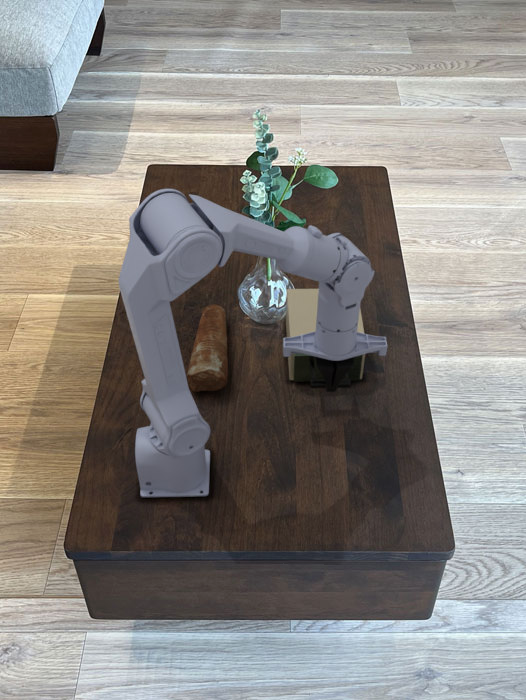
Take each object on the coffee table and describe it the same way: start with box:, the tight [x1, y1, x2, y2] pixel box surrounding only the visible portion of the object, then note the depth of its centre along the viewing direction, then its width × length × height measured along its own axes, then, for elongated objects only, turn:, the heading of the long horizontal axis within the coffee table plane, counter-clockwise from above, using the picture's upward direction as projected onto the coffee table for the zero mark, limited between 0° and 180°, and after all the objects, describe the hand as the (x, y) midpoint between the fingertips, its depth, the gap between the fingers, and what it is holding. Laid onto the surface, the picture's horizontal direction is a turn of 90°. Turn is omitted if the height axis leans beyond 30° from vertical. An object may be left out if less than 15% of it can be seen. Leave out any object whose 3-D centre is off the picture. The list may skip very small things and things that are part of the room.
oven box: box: [285, 288, 366, 381], centre depth 129 cm, size 14×12×8 cm
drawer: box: [293, 353, 363, 389], centre depth 126 cm, size 17×10×6 cm, turn 1°
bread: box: [186, 304, 229, 393], centre depth 129 cm, size 6×19×6 cm, turn 177°
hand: (330, 387), depth 118 cm, fingers closed
